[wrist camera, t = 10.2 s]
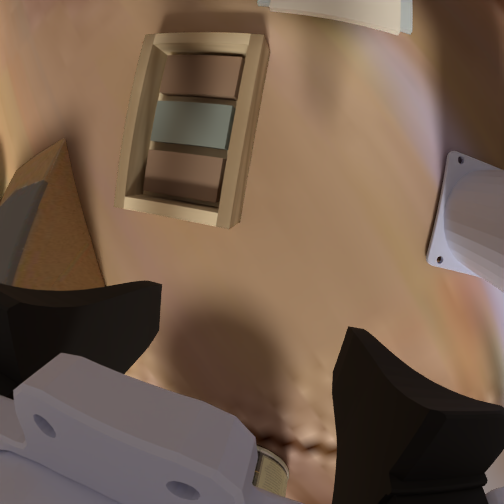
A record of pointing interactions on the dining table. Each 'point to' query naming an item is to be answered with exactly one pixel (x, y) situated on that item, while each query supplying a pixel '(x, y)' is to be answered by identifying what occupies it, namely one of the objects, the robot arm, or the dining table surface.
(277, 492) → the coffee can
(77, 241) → the sandwich container
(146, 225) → the dining table surface
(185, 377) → the dining table surface
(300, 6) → the lid
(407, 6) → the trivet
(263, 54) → the box
